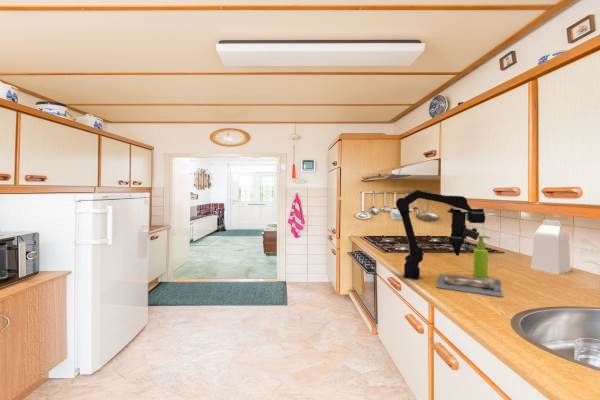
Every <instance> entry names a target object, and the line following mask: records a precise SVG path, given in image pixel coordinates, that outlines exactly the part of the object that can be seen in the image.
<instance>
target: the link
mask: <svg viewBox="0 0 600 400" xmlns="http://www.w3.org/2000/svg"><path fill="white" fill-rule="evenodd" d="M445 283H447V284H458V285H466V286H475V287H483V288H490V284H486V283H482V282H481V281H479V280H470V279H461V278H453V277H452V276H448V277H445Z"/></svg>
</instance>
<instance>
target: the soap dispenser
mask: <svg viewBox="0 0 600 400" xmlns="http://www.w3.org/2000/svg"><path fill="white" fill-rule="evenodd" d="M484 239H488V240H489V239H491V236H486V235H479V236H478V241H477V242H476V248H473V277H474V278H479V279H481V277H482V278H489V277H488V275H489V273H488V272H489V270H488V269H489V267H488V265H489V263H488V261H489V260H488V259H489V250H488V249H486V242H484Z"/></svg>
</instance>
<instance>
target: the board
mask: <svg viewBox="0 0 600 400" xmlns="http://www.w3.org/2000/svg"><path fill="white" fill-rule="evenodd" d="M448 276H452V277H453V278H461V279H470V280H479V281H481V278H478V277H471V276H470V277H469V276H462V275H453V274H445V273H439V276H438V279H437V284H436V286H435V288H436V289H440V290H449V291H455V292H462V293H467V294H468V293H469V294H476V295H483V296H489V297H497V298H504V295H503V292H502V291H501V292H498V291H494V290H493V284H490V288H483V287H475V286H466V285H458V284H447V283H445V277H448Z"/></svg>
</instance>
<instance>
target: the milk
mask: <svg viewBox="0 0 600 400" xmlns="http://www.w3.org/2000/svg"><path fill="white" fill-rule="evenodd" d="M533 233H534V234H533V241H532V242H533V243H532V252H531V253H532V254H531V266H530V269H531V268H532V270H535V271H536V270H537V271H541V272H547V273H549V274H550V273H551V274H555V275H561V273H562V274H566V273H569V272H568V271H570V272H571V252H570V236H569V234H568V232H567V230H565V229H564V228H563V226H562V224H561V222H560V221H559V220H554V219H553V220H552V219H551V220H550V219H543V221H542V223H541V224H540V226H539V227H538V228H537V230H536V231H534V232H533ZM565 272H566V273H565Z"/></svg>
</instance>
